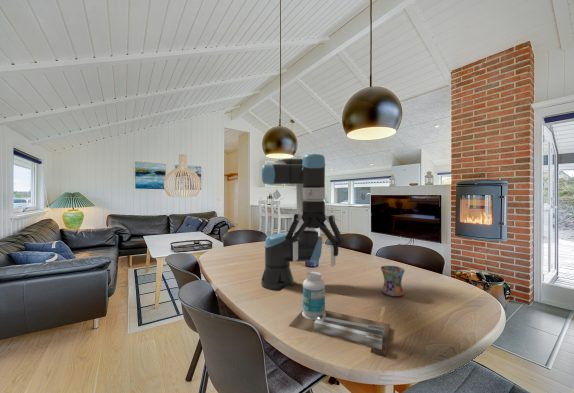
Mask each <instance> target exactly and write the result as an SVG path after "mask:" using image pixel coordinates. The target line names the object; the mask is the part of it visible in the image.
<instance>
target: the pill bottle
mask: <svg viewBox="0 0 574 393" xmlns="http://www.w3.org/2000/svg"><path fill="white" fill-rule="evenodd" d="M325 310H326V283H325V281H324V280H323V279H322V274H321V273H320V272H319V271H309V272H307V273H306V279H304V280H303V282H302V311H303V313H304V314H305V315H306V316H308V317H311V318H317V316H319V315H324V313H325Z"/></svg>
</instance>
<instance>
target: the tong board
mask: <svg viewBox="0 0 574 393" xmlns="http://www.w3.org/2000/svg"><path fill="white" fill-rule="evenodd" d="M325 313H326V316H325V317H328V318H334V319H339V320H344V321H350V322H355V323H361V324H366V325H369V324H370V325H375V326H380V327H383V336H380V335H376V334H372V333H368V332H364V331H359V330H355V329H351V328H347V327H343V326H339V325H334V324H330V323H326V322H322V321H318V320H309V319H306V318H304V317H303V315H302V311H301V312H299V314H298V315H297V316H296V317H295V318H294V319H293V320H291V322H290V323H289V324H288V327H289V328H290V327H291V328H295V329H298V330H301V331H306V332H308V333H314V334H317V335H319V336H324V337H328V338H332V339H336V340H339V341H344V342H347V343H351V344H355V345H359V346H362V347H365V348H369V349H370V353H372V354H375V355H379V356H383V357H387V350H388V342H389V336H390V335H389V334H390V328H391V324H390V323H386V322H380V321H376V320H371V319H368V318H367V319H366V318H361V317H358V316H353V315H349V314H344V313H340V312H335V311H330V310H326V309H325Z"/></svg>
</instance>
